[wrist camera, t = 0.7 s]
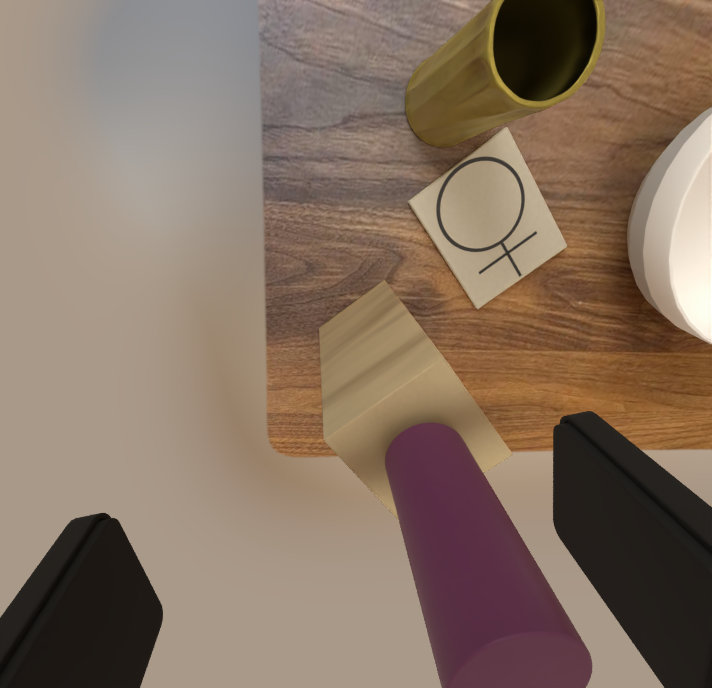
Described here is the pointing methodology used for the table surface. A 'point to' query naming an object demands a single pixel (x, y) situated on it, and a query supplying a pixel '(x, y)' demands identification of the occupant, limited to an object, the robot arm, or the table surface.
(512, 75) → the vase
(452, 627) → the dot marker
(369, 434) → the stand
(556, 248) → the sketch card
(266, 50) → the table surface
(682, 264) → the bowl
